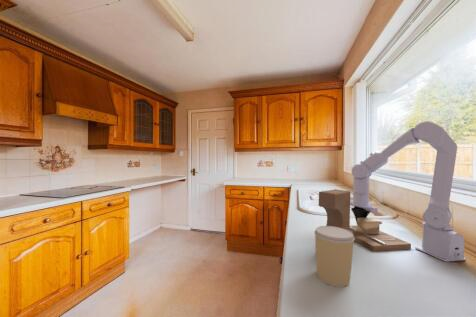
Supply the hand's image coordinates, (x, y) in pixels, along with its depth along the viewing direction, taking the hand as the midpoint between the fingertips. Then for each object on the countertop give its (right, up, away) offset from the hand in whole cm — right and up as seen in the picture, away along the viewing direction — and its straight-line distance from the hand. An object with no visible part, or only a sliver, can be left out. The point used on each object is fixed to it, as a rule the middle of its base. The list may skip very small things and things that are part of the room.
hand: (360, 225), depth 86 cm
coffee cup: (-27, -3, -33) cm, 43 cm away
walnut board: (0, -3, -6) cm, 7 cm away
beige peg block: (+2, -1, -4) cm, 5 cm away
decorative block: (-19, -3, -17) cm, 26 cm away
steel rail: (-3, -1, -6) cm, 7 cm away
